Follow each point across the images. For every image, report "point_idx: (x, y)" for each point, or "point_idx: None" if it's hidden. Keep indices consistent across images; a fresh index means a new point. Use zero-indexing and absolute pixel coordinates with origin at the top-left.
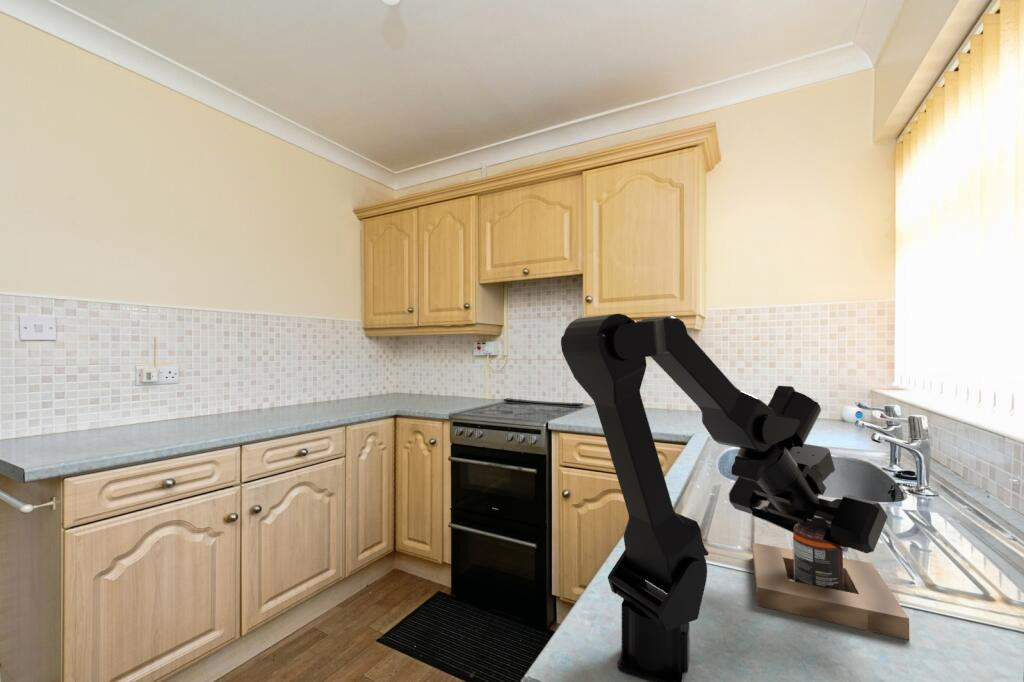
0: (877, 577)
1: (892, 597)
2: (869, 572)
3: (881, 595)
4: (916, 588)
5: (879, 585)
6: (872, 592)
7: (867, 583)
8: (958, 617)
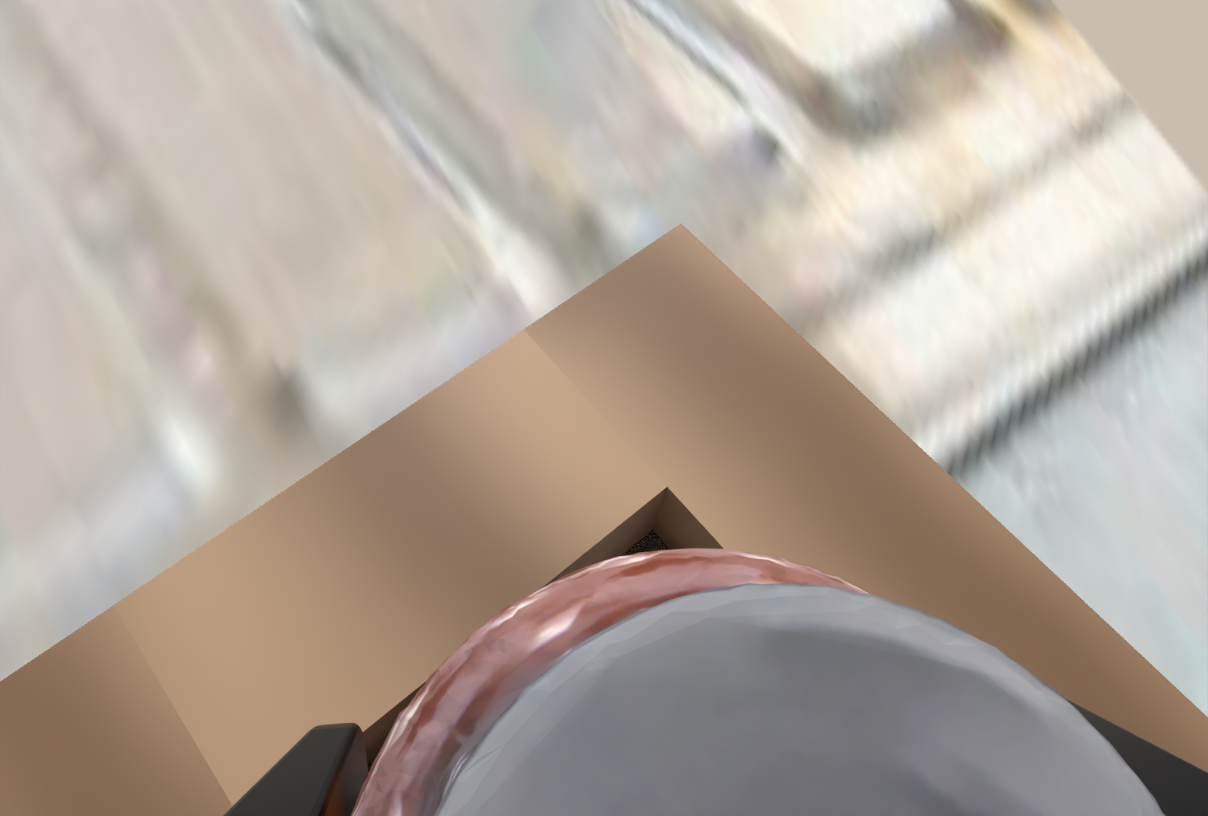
0: (856, 423)
1: (1129, 667)
2: (778, 389)
3: None
4: (822, 190)
5: (957, 548)
6: None
7: (910, 604)
8: (1106, 329)
